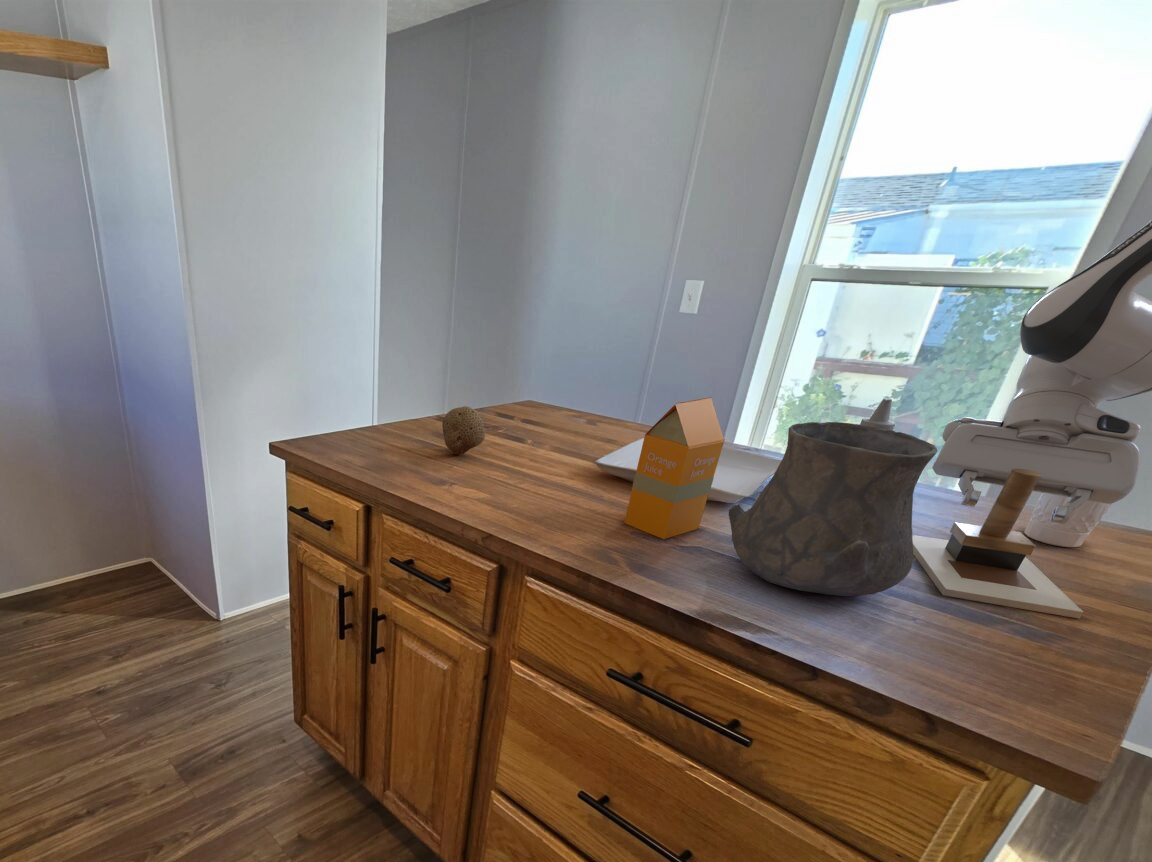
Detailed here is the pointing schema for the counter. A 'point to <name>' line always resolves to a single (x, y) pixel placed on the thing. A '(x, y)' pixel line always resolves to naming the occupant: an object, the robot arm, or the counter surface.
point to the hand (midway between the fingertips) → (1012, 512)
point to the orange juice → (676, 470)
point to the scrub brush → (997, 528)
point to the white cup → (1069, 532)
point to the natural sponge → (463, 429)
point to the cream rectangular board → (991, 581)
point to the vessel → (835, 511)
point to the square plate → (731, 478)
